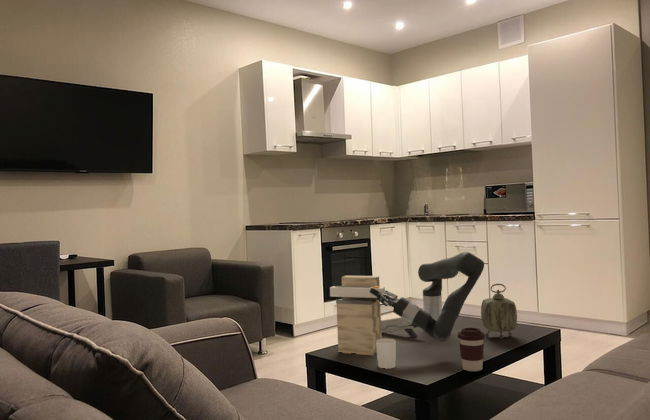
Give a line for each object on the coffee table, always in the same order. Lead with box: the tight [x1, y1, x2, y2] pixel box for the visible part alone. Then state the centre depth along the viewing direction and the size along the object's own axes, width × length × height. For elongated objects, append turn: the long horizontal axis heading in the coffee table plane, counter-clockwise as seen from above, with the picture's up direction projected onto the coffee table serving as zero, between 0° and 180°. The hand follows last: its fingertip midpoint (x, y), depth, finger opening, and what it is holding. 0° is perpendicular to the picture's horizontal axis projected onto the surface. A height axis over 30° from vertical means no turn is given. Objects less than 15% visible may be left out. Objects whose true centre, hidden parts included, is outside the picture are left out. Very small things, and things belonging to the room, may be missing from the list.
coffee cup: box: [457, 327, 486, 372], centre depth 201 cm, size 10×10×15 cm
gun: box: [381, 316, 418, 338], centre depth 258 cm, size 2×25×10 cm, turn 53°
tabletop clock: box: [480, 283, 518, 340], centre depth 246 cm, size 14×9×25 cm, turn 88°
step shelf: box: [335, 275, 383, 356], centre depth 233 cm, size 12×16×32 cm
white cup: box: [376, 338, 397, 370], centre depth 209 cm, size 8×8×10 cm
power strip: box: [329, 285, 386, 298], centre depth 231 cm, size 4×24×4 cm, turn 66°
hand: (372, 289), depth 228 cm, fingers closed on power strip, 4 cm apart
